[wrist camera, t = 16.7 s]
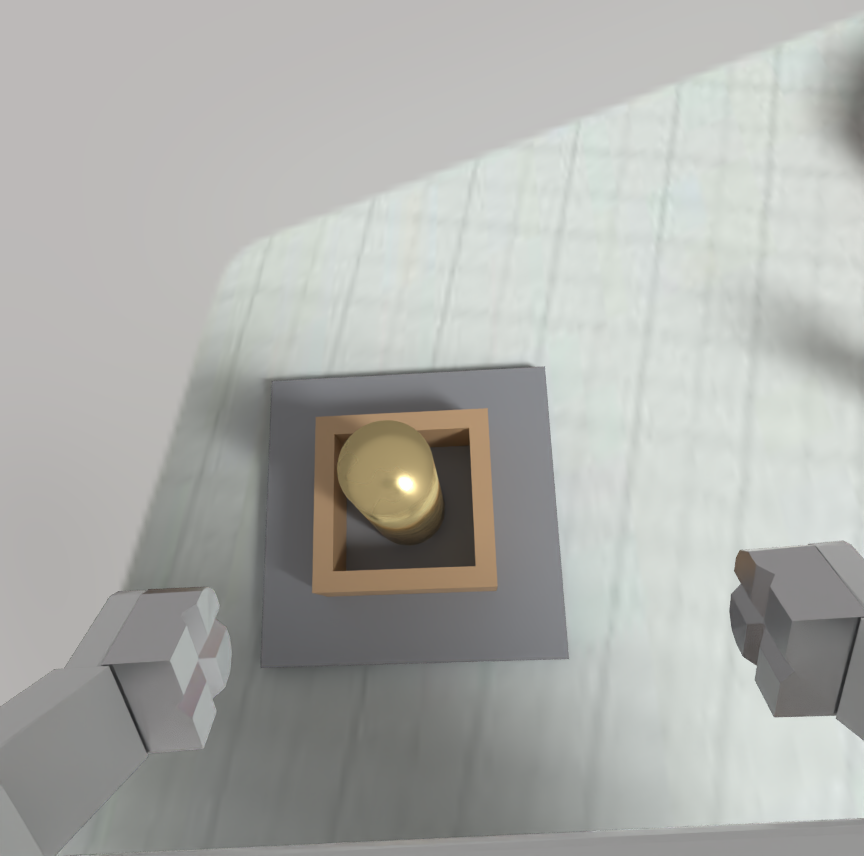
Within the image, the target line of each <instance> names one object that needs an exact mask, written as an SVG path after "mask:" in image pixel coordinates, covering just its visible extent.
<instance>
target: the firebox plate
mask: <svg viewBox="0 0 864 856" xmlns="http://www.w3.org/2000/svg"><path fill="white" fill-rule="evenodd" d="M382 420H392V421H398V422H402V423H404V424H407V425H409V426H411V427H413V428H414V429H415V430H417V431H418V432H419V433H420V434H421V435H422V436H423V437H424V439H425V440H426V442H427V443H428V445H429V447H430V449H431V452H432V456H433V460H434V464H435V468H436V472H437V476H438V480H439V483H440V487H441V491H442V495H443V499H444V504H445V514H444V518H443V522H442V524H441V526H440V528H439V529H438V531H437V532H436V533H435V534H434V535H433V536H432V537H431V538H430V539H428V540H427V541H425V542H423V543H420V544H417V545H411V546H405V545H399V544H396V543H393V542H391V541H390V540H388V539H387V538H385V537H384V536H383V535H382V534H381V533H380V532H379V531H378V530H377V529H376V528H375V527H374V526H373V524H372V523H371V522H370V521H369V520H368V519H367V518H366V517H365V516H364V515H363V514H362V513H361V512H360V511H359V510H358V509H357V508H356V507H355V506H354V504H353V503H352V502H351V501H350V500H349V499H348V498H347V497H346V495H345V494H344V492H343V491H342V489H341V486H340V484H339V480H338V475H337V463H338V458H339V454H340V451H341V449H342V447H343V445H344V444H345V442H346V441H347V440H348V438H349V437H350V436H351V435H352V434H353V433H354V432H355V431H357V430H358V429H359V428H361V427H363V426H365V425H367V424H369V423H372V422H376V421H382ZM547 659H569V655H568V642H567V630H566V618H565V606H564V594H563V581H562V569H561V557H560V545H559V533H558V521H557V508H556V496H555V484H554V472H553V460H552V448H551V435H550V423H549V411H548V399H547V387H546V375H545V367H527V368H509V369H490V370H471V371H452V372H434V373H415V374H396V375H377V376H359V377H340V378H321V379H302V380H283V381H272V393H271V419H270V444H269V469H268V494H267V520H266V545H265V570H264V596H263V621H262V646H261V668H266V667H301V666H336V665H371V664H406V663H441V662H477V661H512V660H547Z"/></svg>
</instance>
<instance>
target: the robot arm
mask: <svg viewBox="0 0 864 856" xmlns="http://www.w3.org/2000/svg"><path fill="white" fill-rule="evenodd" d="M734 572H735V574H736V575H737V577H738V579H739V581H740V582H741V584H740V585H739V586H738V588H737V589H736V590H735V591H734V592H733V593H732V594H731V601H730V619H731V627H732V632H733V635H734V638H735V641H736V644H737V646H738V648H739V650H740V652H741V654H742V656H743V657H744V658H746V659H747V660H749V661H750V662H752V663H753V664H755V665H756V666H757V668H756V675H755V682H756V684H757V686H758V687H759V689H760V691H761V693H762V695H763V697H764V699H765V701H766V703H767V705H768V707H769V709H770V711H771V713H772V715H773V716H774V717H803V716H836V719H837V720H838V721H840V722H841V723H842V724H843V725H845V726H846V727H847V728H848V729H850V730H851V731H852V732H854V733H855V734H856V735H857V736H859V737H860V738H861V739H862V740H864V559H863V558H862V556H861V555H860V554H859V553H858V552H857V551H856V549H855V548H854V547H853V546H852V545H851V544H849V543H847V542H845V541H834V542H823V543H812V544H808V545H798V546H785V547H772V548H758V549H745V550H740V551H739V553H738V555H737V557H736V562H735V569H734ZM219 608H220V604H219V601H218V599H217V596H216V593H215V590H213V589H212V588H210V587H188V588H166V589H148V590H134V591H118V592H116V593H115V594H113V595H111V596H110V597H109V598H108V600H107V602H106V603H105V605H104V606H103V608H102V610H101V611H100V613H99V614H98V616H97V617H96V619H95V621H94V622H93V624H92V625H91V627H90V629H89V630H88V632H87V633H86V635H85V637H84V638H83V640H82V641H81V643H80V644H79V646H78V647H77V649H76V651H75V652H74V654H73V655H72V657H71V658H70V660H69V662H68V663H67V665H66V666H65V668H64V669H54V670H53V671H51V672H50V673H48V674H47V675H45V676H44V677H42V678H41V679H40V680H38V681H37V682H35V683H34V684H32V685H31V686H29V687H28V688H27V689H25V690H24V691H22V692H21V693H19V694H18V695H16V696H15V697H13V698H12V699H11V700H9V701H8V702H6V703H5V704H3V705H2V706H0V856H55V855H56V854H57V853H58V852H59V851H60V850H61V849H62V848H63V847H64V846H65V845H66V844H67V843H68V841H69V840H70V839H71V838H72V837H73V836H74V835H75V834H76V833H77V832H78V831H79V830H80V829H81V828H82V827H83V826H84V825H85V823H86V822H87V821H88V820H89V819H90V818H91V817H92V816H93V815H94V814H95V813H96V812H97V811H98V810H99V809H100V808H101V806H102V805H103V804H104V803H105V802H106V801H107V800H108V799H109V798H110V797H111V796H112V795H113V794H114V793H115V792H116V791H117V790H118V788H119V787H120V786H121V785H122V784H123V783H124V782H125V781H126V780H127V779H128V778H129V777H130V776H131V775H132V774H133V773H134V771H135V770H136V769H137V768H138V767H139V766H140V765H141V764H142V763H143V762H144V761H145V760H146V759H147V758H148V754H150V753H162V752H174V751H185V750H197V749H204V746H205V744H206V741H207V738H208V735H209V732H210V730H211V727H212V724H213V721H214V718H215V715H216V713H217V710H216V707H215V705H214V702H213V698H214V697H215V696H216V695H218V694H219V693H220V692H221V691H222V690H223V689H224V688H225V687H226V684H227V681H228V678H229V674H230V669H231V659H232V649H231V640H230V636H229V633H228V629H227V627H226V626H225V625H223V624H222V623H221V622H219V621H218V620H217V619H216V615H217V613H218V610H219ZM67 856H864V818H857V819H835V820H814V821H792V822H771V823H749V824H728V825H707V826H685V827H664V828H643V829H621V830H600V831H579V832H557V833H536V834H515V835H493V836H472V837H450V838H429V839H408V840H386V841H365V842H344V843H322V844H301V845H280V846H259V847H237V848H216V849H195V850H173V851H152V852H131V853H110V854H88V855H67Z"/></svg>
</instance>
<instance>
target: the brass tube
mask: <svg viewBox="0 0 864 856" xmlns="http://www.w3.org/2000/svg"><path fill="white" fill-rule="evenodd" d="M337 475H338V480H339V484H340V486H341V489H342V491H343V492H344V494H345V495H346V497H347V498H348V499H349V500H350V501H351V502H352V503H353V504H354V506H355V507H356V508H357V509H358V510H359V511H360V512H361V513H362V514H363V515H364V516H365V517H366V518H367V519H368V520H369V521H370V522H371V523H372V524H373V526H374V527H375V528H376V529H377V530H378V531H379V532H380V533H381V534H382V535H383V536H384V537H385V538H387V539H388V540H390V541H391V542H393V543H396V544H399V545H405V546H411V545H417V544H420V543H423V542H425V541H427V540H428V539H430V538H431V537H432V536H433V535H434V534H435V533H436V532H437V531H438V529H439V528H440V526H441V524H442V522H443V518H444V514H445V504H444V499H443V495H442V491H441V487H440V483H439V480H438V476H437V472H436V468H435V464H434V460H433V456H432V452H431V449H430V447H429V445H428V443H427V442H426V440H425V439H424V437H423V436H422V435H421V434H420V433H419V432H418V431H417V430H415V429H414V428H413V427H411V426H409V425H407V424H404V423H402V422H398V421H392V420H382V421H376V422H372V423H369V424H367V425H365V426H363V427H361V428H359V429H358V430H357V431H355V432H354V433H353V434H352V435H351V436H350V437H349V438H348V440H347V441H346V442H345V444H344V445H343V447H342V449H341V451H340V454H339V458H338V463H337Z"/></svg>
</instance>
